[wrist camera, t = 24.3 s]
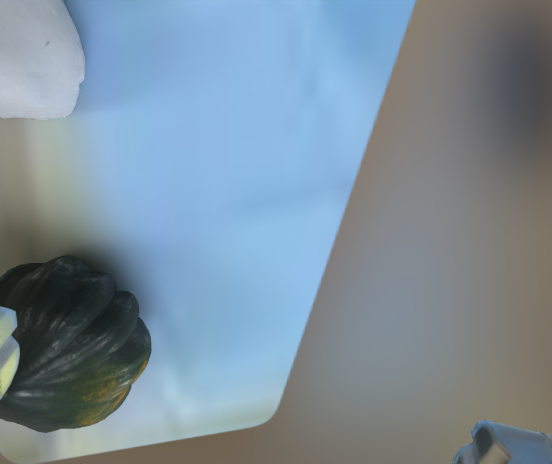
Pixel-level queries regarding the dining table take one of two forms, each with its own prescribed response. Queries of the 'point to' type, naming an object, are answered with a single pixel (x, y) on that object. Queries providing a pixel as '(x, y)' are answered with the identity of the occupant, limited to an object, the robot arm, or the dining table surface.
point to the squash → (70, 345)
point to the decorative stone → (39, 60)
